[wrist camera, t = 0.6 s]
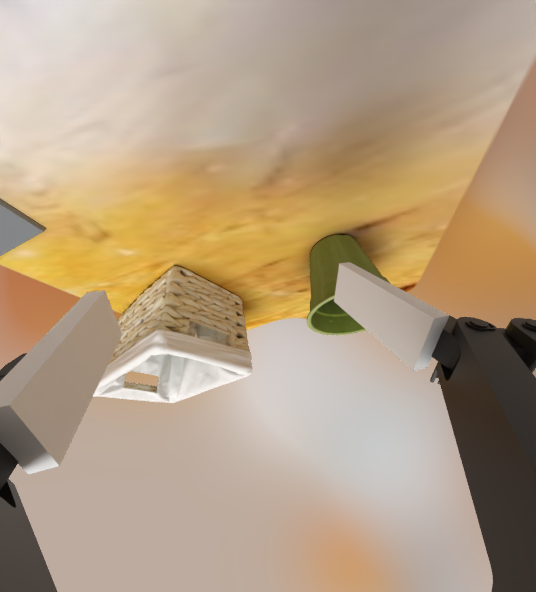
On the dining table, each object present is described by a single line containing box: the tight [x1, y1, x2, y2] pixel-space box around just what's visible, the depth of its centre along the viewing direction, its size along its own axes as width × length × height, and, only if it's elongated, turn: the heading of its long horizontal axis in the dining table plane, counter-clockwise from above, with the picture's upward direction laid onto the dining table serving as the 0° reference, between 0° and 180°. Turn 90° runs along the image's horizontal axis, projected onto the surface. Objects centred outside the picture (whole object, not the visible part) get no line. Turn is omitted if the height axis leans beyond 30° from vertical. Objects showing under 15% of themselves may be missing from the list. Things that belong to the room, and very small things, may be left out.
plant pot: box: [307, 235, 390, 335], centre depth 31 cm, size 12×12×11 cm
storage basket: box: [93, 266, 252, 403], centre depth 39 cm, size 24×16×15 cm
